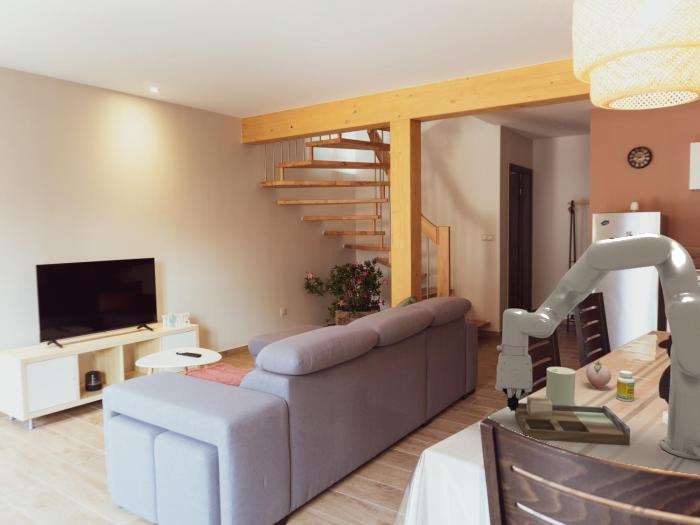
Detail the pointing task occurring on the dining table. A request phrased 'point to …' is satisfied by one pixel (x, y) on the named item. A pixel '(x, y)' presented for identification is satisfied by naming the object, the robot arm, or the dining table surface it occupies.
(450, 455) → the dining table surface
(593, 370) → the decorative fruit
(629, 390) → the supplement bottle
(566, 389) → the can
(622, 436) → the brown wooden tray
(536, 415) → the block
